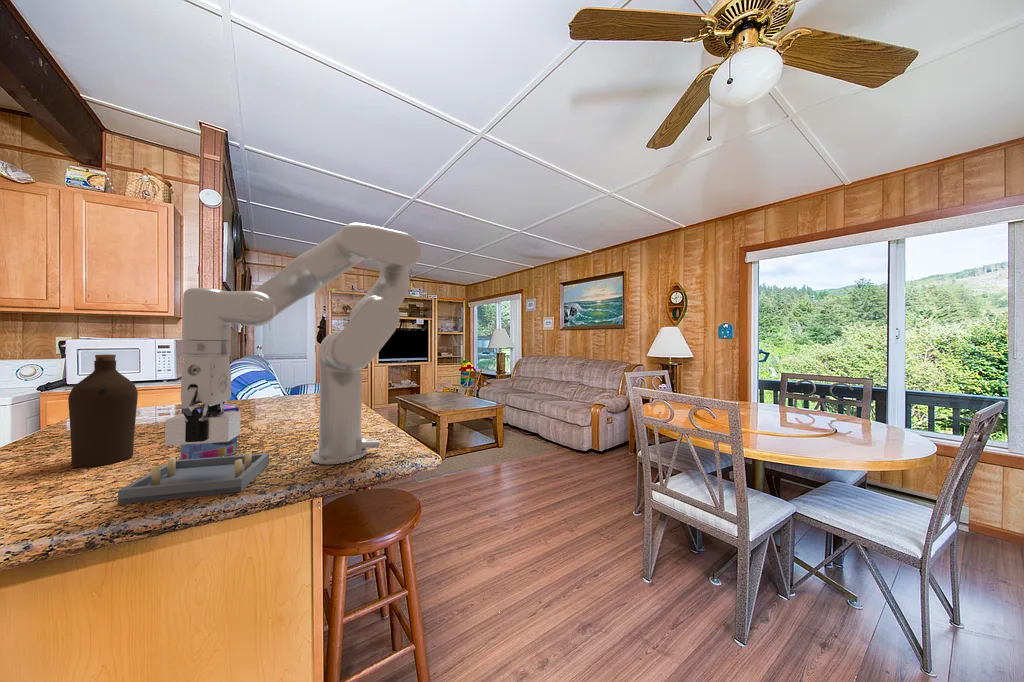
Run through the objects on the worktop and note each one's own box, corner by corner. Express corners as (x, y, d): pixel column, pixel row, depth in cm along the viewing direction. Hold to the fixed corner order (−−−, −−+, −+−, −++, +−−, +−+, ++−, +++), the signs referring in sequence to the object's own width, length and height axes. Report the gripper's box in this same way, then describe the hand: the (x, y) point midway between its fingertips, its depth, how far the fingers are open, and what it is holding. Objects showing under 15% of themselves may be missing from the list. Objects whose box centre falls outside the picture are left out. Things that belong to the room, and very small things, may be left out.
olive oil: (147, 455, 86) (149, 354, 86) (86, 471, 75) (88, 356, 75) (118, 451, 88) (120, 353, 88) (54, 465, 78) (57, 354, 78)
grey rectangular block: (240, 434, 76) (240, 410, 76) (228, 441, 70) (228, 416, 70) (182, 437, 72) (182, 413, 72) (164, 445, 67) (165, 419, 67)
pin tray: (269, 463, 82) (269, 444, 82) (241, 491, 67) (241, 468, 67) (172, 471, 76) (172, 451, 76) (117, 504, 61) (118, 479, 61)
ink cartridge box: (188, 465, 80) (190, 402, 80) (178, 461, 82) (179, 400, 82) (239, 453, 88) (240, 396, 88) (228, 450, 91) (229, 395, 91)
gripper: (208, 350, 64) (206, 447, 64) (245, 348, 81) (243, 425, 81) (156, 350, 62) (154, 451, 62) (205, 348, 78) (203, 427, 78)
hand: (204, 436), depth 71 cm, fingers closed on grey rectangular block, 6 cm apart
